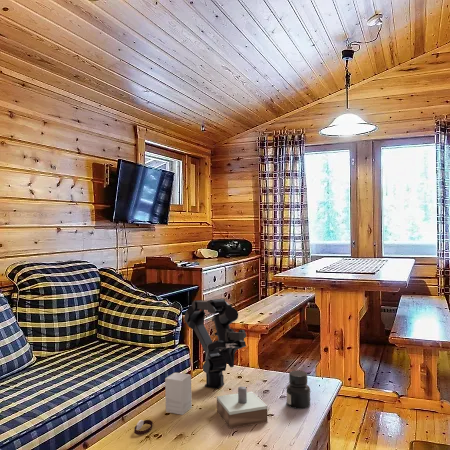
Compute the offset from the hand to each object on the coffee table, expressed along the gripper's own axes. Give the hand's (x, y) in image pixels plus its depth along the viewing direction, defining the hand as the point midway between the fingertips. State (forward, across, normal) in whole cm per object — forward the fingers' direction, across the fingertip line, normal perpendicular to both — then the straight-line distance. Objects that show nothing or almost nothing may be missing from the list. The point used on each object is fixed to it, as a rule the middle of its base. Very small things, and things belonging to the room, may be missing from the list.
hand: (232, 367), depth 179 cm
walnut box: (+18, -8, -5) cm, 21 cm away
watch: (+15, -36, +16) cm, 42 cm away
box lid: (+14, -9, -7) cm, 19 cm away
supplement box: (+11, -17, +16) cm, 26 cm away
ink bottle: (+20, +13, -17) cm, 29 cm away
